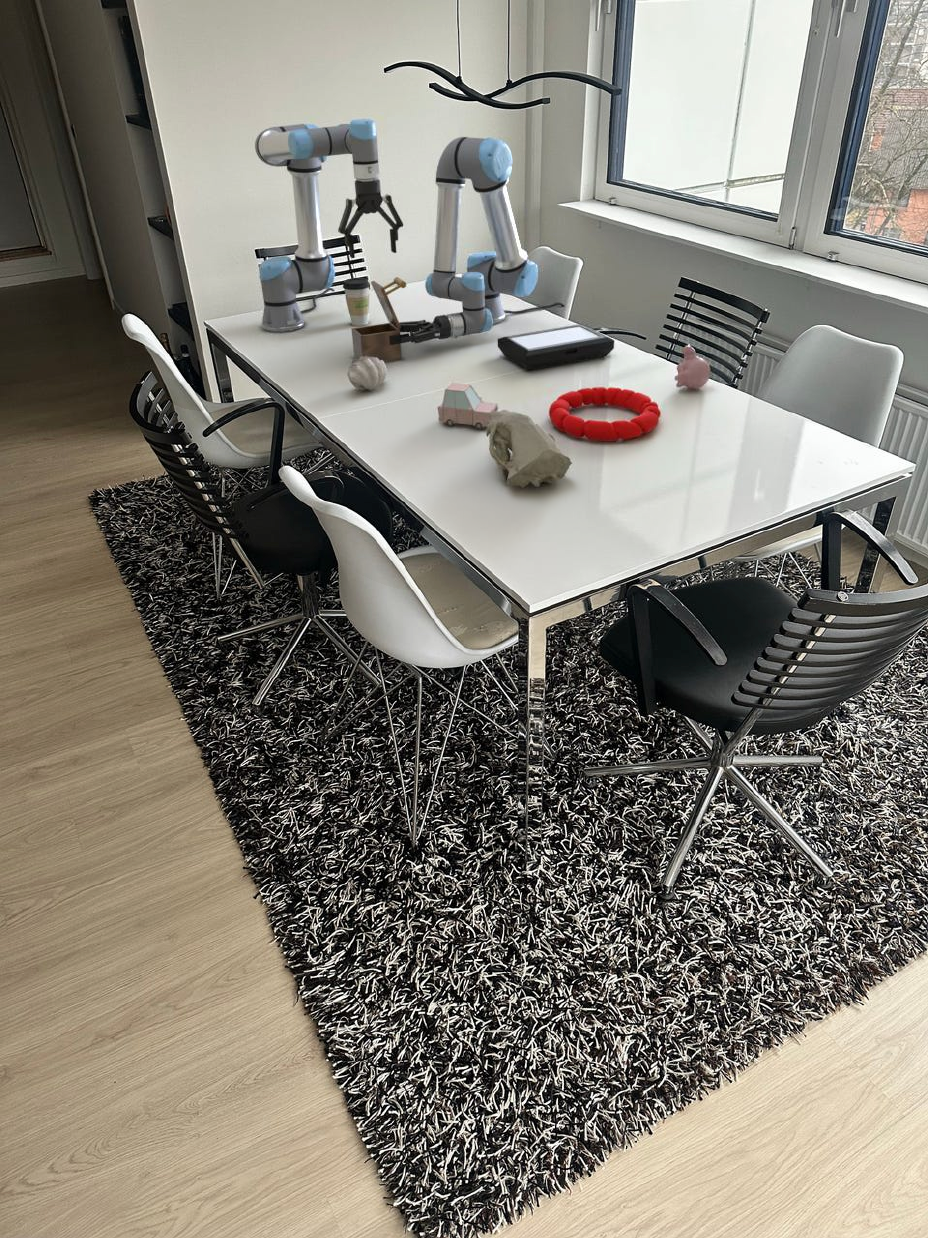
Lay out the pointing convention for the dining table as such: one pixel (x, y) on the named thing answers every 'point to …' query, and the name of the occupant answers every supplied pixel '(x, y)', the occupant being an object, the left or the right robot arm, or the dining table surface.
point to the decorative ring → (604, 428)
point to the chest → (376, 342)
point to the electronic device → (555, 346)
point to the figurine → (692, 370)
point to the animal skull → (525, 450)
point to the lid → (385, 301)
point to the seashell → (367, 372)
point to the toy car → (465, 406)
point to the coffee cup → (357, 300)
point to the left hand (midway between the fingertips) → (373, 254)
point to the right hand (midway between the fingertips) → (384, 336)
